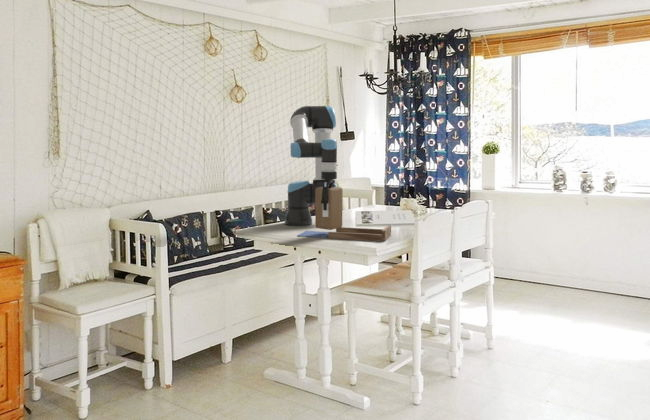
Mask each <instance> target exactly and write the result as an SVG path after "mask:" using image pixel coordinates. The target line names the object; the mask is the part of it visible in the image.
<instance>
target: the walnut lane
mask: <svg viewBox="0 0 650 420" xmlns="http://www.w3.org/2000/svg"><path fill="white" fill-rule="evenodd" d="M327 232H328V236H327V239H333V240H351V241H352V240H353V241H354V240H355V241H373V242H375V241H376V242H386V241H387V240H388V239H389V238H390V237H392V225H387V226H386V227H384V228H382V229H381V228H380V229H379V228H365V227H364V228H362V227H345V226H344V227H343V226H342V227H341V228H337V229H335V231H327Z"/></svg>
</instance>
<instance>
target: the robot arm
mask: <svg viewBox="0 0 650 420" xmlns="http://www.w3.org/2000/svg"><path fill="white" fill-rule="evenodd" d="M336 120H337V119H336V112H335V109H334V107H333V106H330V105H329V106H327V105H316V106H315V105H305V106H301V107H299V108H297V109H296V110H295V111H294V112H293V113H292V115H291V116H290V120H289V122H290V127H291V128H292V134H293V135H292V136H293V142H291V143H290V157H291V158H297V159H301V158H303V159H304V158H305V159H307V158H311V159H313V158H315V160H314V165H315V167H314V168H315V176H314V178H313V179H312V182H311V183H310V181H309V180H299V181H293V182H290V183H289V184H288V186H287V191H286V192H287V212H286V214H285V218H284V224H285V225H287V226H295V227H296V226H297V227H298V226H309V225H312V224H313V218H312V215H311V211H310V205H315V190H316V188H319V187H323V191H322V199H321V203H323V217H328V188H332V187H338V185H337V182H336V179H337V178H338V175H337V174H338V172H337V168H338V166H339V164H337V163H338V160H337V159H338V158H337V157H338V156H337V155H338V142H337V139H335V138H332V137H331V136H332V135H331V134H332V133H333V131H334V128H336V126H337V121H336ZM308 128H311V129H312V133H314V142H309V141H310V140H309V134H308Z"/></svg>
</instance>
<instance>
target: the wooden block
mask: <svg viewBox="0 0 650 420" xmlns="http://www.w3.org/2000/svg"><path fill="white" fill-rule="evenodd" d="M322 191H323V187H319V188H316V190H315V216H314V217H315V219H314V220H315V228H316V229H320V230H321V229H322V230H328V231H331V230H336V229H337V228H341V227H343V197H344V196H343V187H340V186H337V187H332V188H328V217H323V203H321V199H322Z"/></svg>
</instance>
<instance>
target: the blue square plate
mask: <svg viewBox="0 0 650 420" xmlns="http://www.w3.org/2000/svg"><path fill="white" fill-rule="evenodd" d="M328 232H329V231H318V230H317V231H316V230H305V231H303V232H301V233H299V234H297V237H300V236H306V237H305V238H319V239H321V238H323V239H326V238H328Z"/></svg>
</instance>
